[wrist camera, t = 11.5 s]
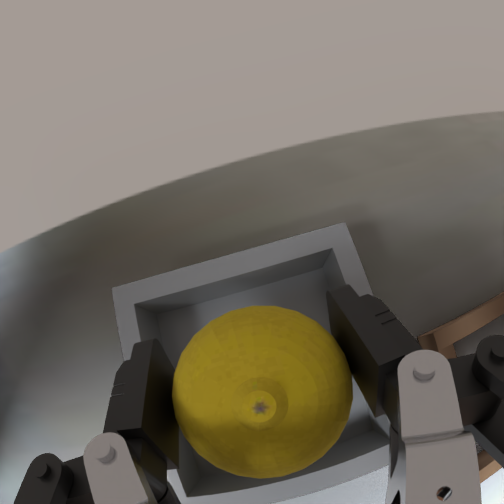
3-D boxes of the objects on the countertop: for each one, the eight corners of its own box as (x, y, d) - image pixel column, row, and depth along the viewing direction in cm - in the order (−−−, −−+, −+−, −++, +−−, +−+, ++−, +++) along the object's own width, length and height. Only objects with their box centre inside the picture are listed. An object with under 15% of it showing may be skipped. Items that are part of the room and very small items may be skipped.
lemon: (214, 448, 12) (156, 525, 5) (195, 333, 14) (117, 295, 7) (336, 428, 12) (405, 487, 5) (314, 312, 14) (361, 252, 7)
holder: (193, 487, 13) (172, 516, 10) (143, 304, 17) (111, 287, 13) (387, 434, 14) (417, 451, 10) (330, 251, 18) (344, 221, 14)
